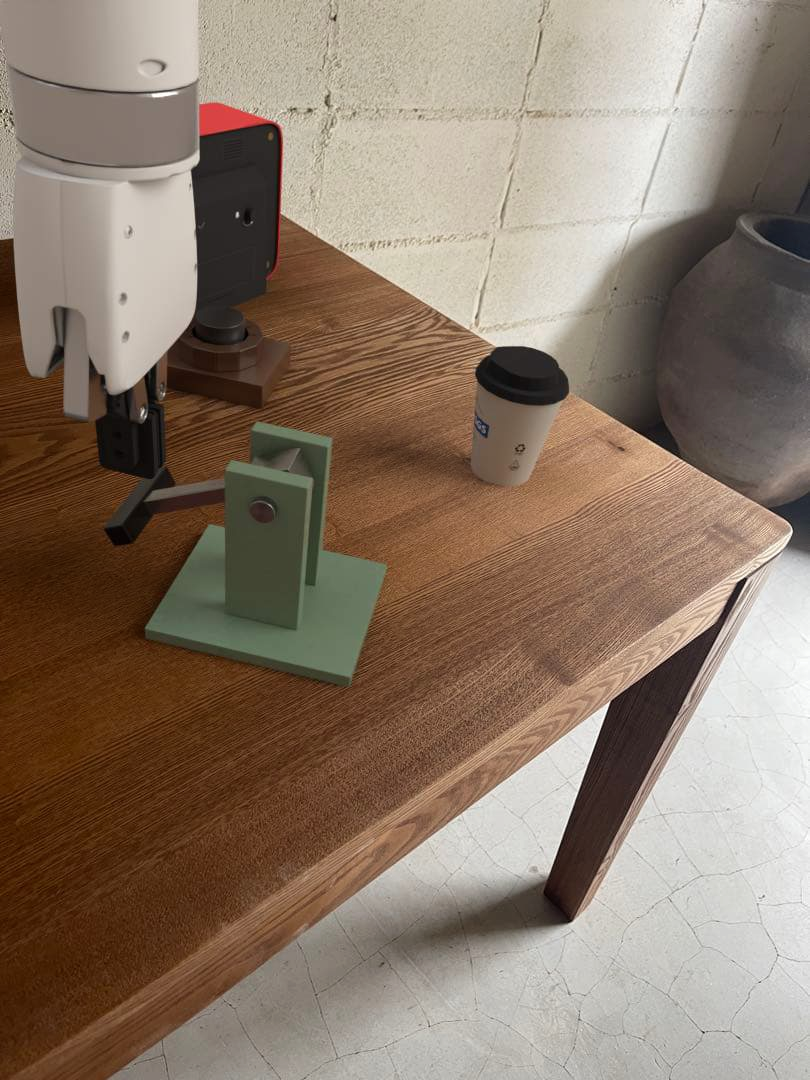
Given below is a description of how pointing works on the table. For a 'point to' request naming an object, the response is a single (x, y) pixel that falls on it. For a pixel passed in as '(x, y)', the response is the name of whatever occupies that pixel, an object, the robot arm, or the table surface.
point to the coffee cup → (514, 412)
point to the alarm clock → (236, 204)
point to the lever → (185, 495)
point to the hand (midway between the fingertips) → (133, 465)
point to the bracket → (273, 573)
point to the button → (220, 325)
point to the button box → (228, 366)
